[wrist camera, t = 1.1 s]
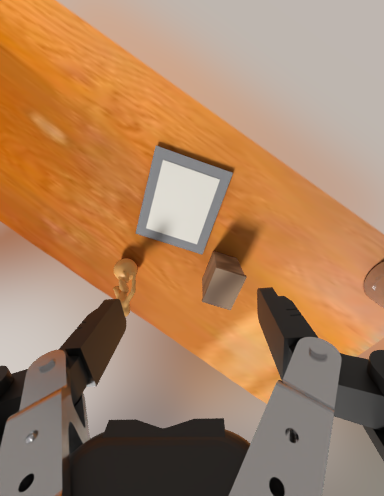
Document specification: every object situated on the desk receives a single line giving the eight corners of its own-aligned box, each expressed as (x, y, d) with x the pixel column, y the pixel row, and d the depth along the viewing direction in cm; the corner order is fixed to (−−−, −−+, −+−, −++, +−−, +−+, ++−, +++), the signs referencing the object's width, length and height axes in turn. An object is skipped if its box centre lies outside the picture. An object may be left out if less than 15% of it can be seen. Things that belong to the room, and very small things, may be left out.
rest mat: (232, 173, 30) (233, 172, 29) (202, 252, 34) (202, 254, 34) (157, 146, 29) (155, 145, 28) (137, 232, 34) (135, 233, 33)
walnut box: (237, 257, 35) (246, 277, 28) (225, 286, 37) (230, 310, 30) (213, 250, 34) (216, 267, 28) (201, 279, 36) (202, 301, 30)
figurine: (132, 242, 34) (99, 274, 23) (159, 261, 35) (141, 300, 24) (109, 274, 37) (70, 317, 26) (136, 291, 38) (109, 340, 27)
